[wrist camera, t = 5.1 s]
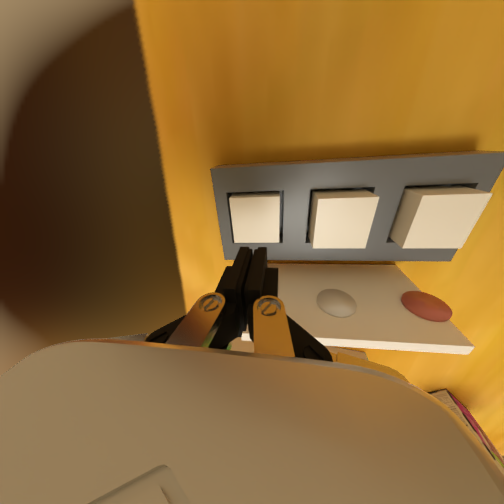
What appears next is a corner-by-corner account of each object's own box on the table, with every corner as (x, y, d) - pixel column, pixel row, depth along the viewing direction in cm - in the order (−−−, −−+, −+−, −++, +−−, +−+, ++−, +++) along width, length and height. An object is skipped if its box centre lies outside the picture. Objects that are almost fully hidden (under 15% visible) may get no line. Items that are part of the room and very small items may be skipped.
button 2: (279, 189, 20) (279, 196, 17) (278, 230, 22) (279, 242, 20) (234, 191, 20) (229, 198, 18) (239, 231, 23) (234, 242, 20)
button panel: (476, 150, 17) (729, 161, 7) (418, 271, 24) (513, 357, 14) (218, 165, 20) (167, 186, 10) (233, 268, 27) (209, 338, 17)
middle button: (364, 188, 18) (379, 196, 15) (353, 234, 20) (365, 248, 18) (312, 190, 18) (318, 198, 16) (308, 235, 21) (312, 248, 18)
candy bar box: (470, 410, 38) (582, 564, 24) (443, 415, 41) (531, 560, 27) (447, 387, 35) (560, 549, 21) (418, 393, 37) (504, 545, 23)
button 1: (459, 185, 17) (492, 193, 14) (436, 234, 19) (461, 248, 17) (401, 187, 17) (423, 195, 15) (385, 234, 20) (402, 248, 17)
